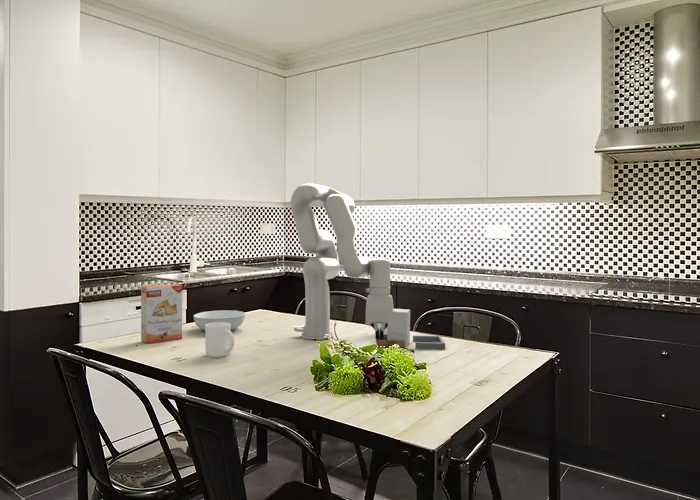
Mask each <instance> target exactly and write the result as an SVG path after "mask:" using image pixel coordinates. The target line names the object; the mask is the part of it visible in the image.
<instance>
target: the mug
mask: <svg viewBox="0 0 700 500" xmlns="http://www.w3.org/2000/svg"><path fill="white" fill-rule="evenodd" d="M204 331H205V333H204V334H205V335H204V336H205V337H204V338H205V340H204V341H205V342H204V343H205V355H206V356H207V357H209V358H223V357H227V356H229V355H230V354H231V353H232V351H233V349H234V347H235V341H236V340H235V337H234V336H235V335H234V334H233V333H232V331H231V324H230V323H226V322H214V323H208V324H206V325H205V330H204Z"/></svg>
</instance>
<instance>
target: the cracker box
mask: <svg viewBox="0 0 700 500" xmlns="http://www.w3.org/2000/svg"><path fill="white" fill-rule="evenodd" d="M140 297H141V298H140V342H143V343H145V344H152V343H153V344H154V343H159V342H160V343H161V342H168V341H175V340H182V339H183V285H182V284H178V283H175V284H174V283H173V284H172V283H171V284H156V285H141V287H140Z"/></svg>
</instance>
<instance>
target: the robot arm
mask: <svg viewBox="0 0 700 500" xmlns="http://www.w3.org/2000/svg"><path fill="white" fill-rule="evenodd" d="M312 207H320V208H323V209H324V211H325V213H326V215H327V217H328V221H329V222H330V224H331V226H332V229H333V232H334V234H335V237H336V243H335V240H334V238H333V235H332V234H331V233H330V232H329V231H327V230H325V229H320V228H319V227H320V226H319V224H318V219H317V216H316V214H315V212H314V211H313V209H312ZM355 207H356V206H355V201H354V199H352V197H351V196H349V195H347V194H345V193H342V192H340V191H337V190H336V189H334V188H331V187H329V186H327V185H326V186H325V185H321V184H316V183H304V184H300V185H299V186H297V187H296V188H295V189H294V191H293V192H292V195H291V197H290V209H291V212H292V216H293V218H294V219H293V220H294V223H295V228H296V232H297V236H298V240H299V245H300V247H301V250H302V251H303V252H304V253H306V254H308V255H309V254H311V255H315V256H311V257H310V258H308V259H307V260H306V261H305V263H304V264H303V268H302V273H303V279H304V288H305V291H304V293H305V294H304V296H305V314H304V315H305V317H304V318H305V321H304V323H305V324H304V325H302V326H298V325H296V326H295V325H294V327H293V329H294V330H293V331H294V332H296V333H298V332H299V333H300V332H301V334H300V335H301V338H302V339H305V340H313V338H314V339H317V340H316V341H321V340H322V339H323V340H325V339H324V338H325V337H324V335H325V334H328V335H329V336H331V337H332V338H334V336H335V335H334V333H333V332H331V331H330V330H331V329H330V324H331V323H330V322H331V321H330V320H331V319H330V318H331V316H330V315H331V314H330V313H331V310H330V309H331V301H330V299H331V298H330V297H331V296H330V295H331V294H330V286H329V285H330V284H329V281H328V280H331V279H334V278H336V277H337V275H339V273H340V269H341V267H342V269H343V271H344V273H345V274H346V275H347V277H349V278H351V279H359V278H364V277H369V287H368V288H365V293H368V295H367V296H366V297H367V298H366V302H365V303H366V305H365V322H364V323H365V325H366V326H368V327H372V329H373V330H374V332H375V331H376V334H375V340H376V339H377V340H379V328H378V324H377V323H382V326H381V328H380V340H382V339H384V330H385V329H386V328H387V327H388V323H389V312H392V311H393V309H394V300H393V295H392V294H391V261H390V259H389V258H385V257H384V258H383V257H382V258H381V257H378V258H377V257H375V258H374V257H373V258H372V257H368V256H358V253H357V251H356V249H355V243H354V238H355V236H356V234H357V233H358V226H357V224H356V222H355V219H354V217H353V215H352V214H353V213H354V211H355ZM340 266H341V267H340ZM323 340H322V341H323ZM313 341H314V340H313Z"/></svg>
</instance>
